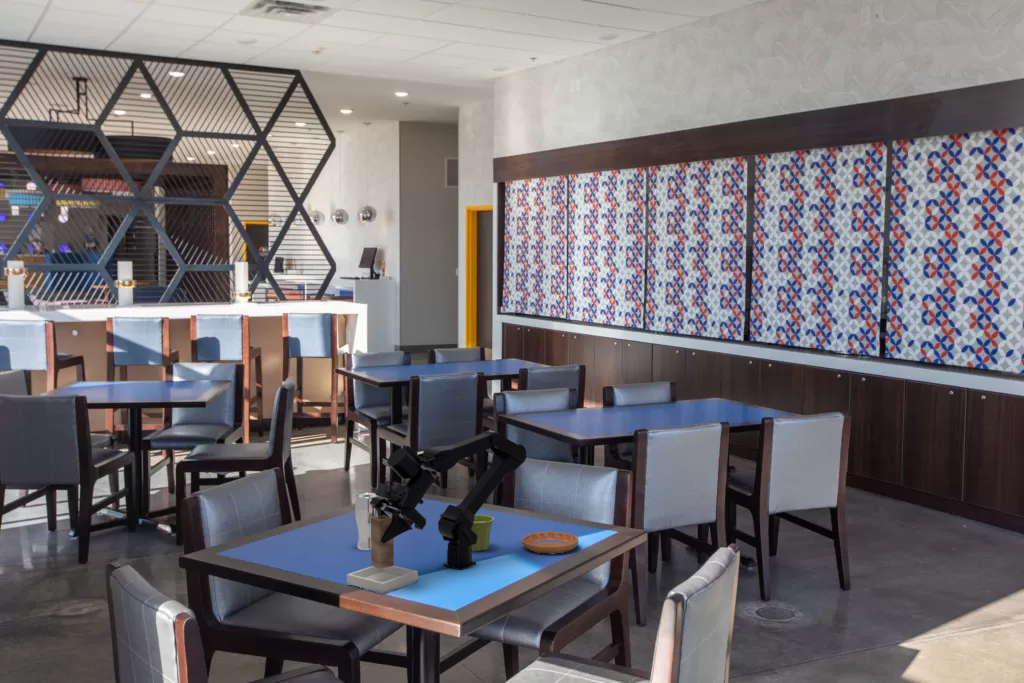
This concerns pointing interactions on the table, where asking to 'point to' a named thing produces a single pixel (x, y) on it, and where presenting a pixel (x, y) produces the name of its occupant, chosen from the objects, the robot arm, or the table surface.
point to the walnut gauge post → (381, 551)
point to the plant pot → (482, 531)
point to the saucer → (550, 546)
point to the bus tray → (382, 578)
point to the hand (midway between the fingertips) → (377, 540)
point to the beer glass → (364, 519)
